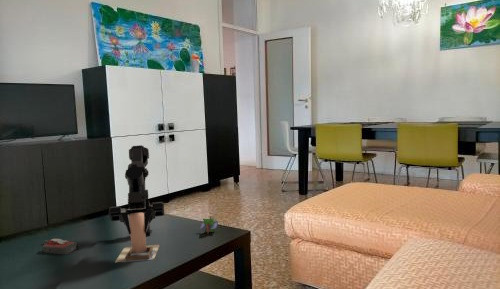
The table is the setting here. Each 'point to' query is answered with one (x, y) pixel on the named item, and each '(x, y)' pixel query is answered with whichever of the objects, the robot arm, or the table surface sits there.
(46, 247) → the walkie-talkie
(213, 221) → the geometric puzzle
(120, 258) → the tan flat square frame
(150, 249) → the walnut socket
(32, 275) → the table surface
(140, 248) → the terracotta column
